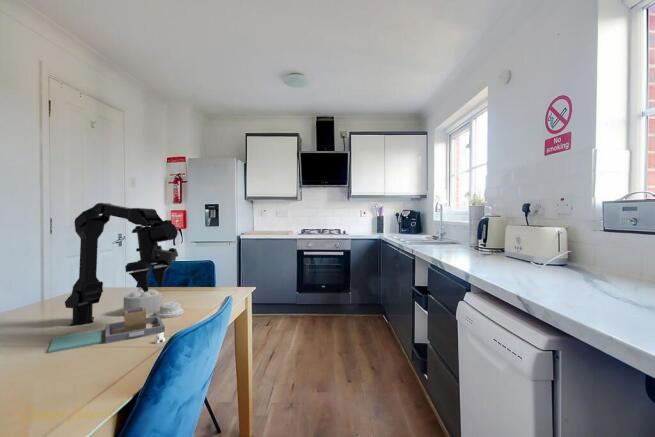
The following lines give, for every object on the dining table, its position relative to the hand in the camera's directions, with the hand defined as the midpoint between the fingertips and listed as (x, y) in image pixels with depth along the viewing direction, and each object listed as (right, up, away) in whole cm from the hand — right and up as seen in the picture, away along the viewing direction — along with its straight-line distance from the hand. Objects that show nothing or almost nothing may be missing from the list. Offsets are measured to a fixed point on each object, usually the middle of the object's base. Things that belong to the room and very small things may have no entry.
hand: (153, 289), depth 102 cm
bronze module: (-6, -14, -1) cm, 15 cm away
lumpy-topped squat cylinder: (-17, -15, +21) cm, 31 cm away
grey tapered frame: (-6, -14, -1) cm, 15 cm away
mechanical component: (-4, -15, +18) cm, 24 cm away
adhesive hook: (+6, -15, -9) cm, 18 cm away
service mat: (-18, -14, -10) cm, 25 cm away
